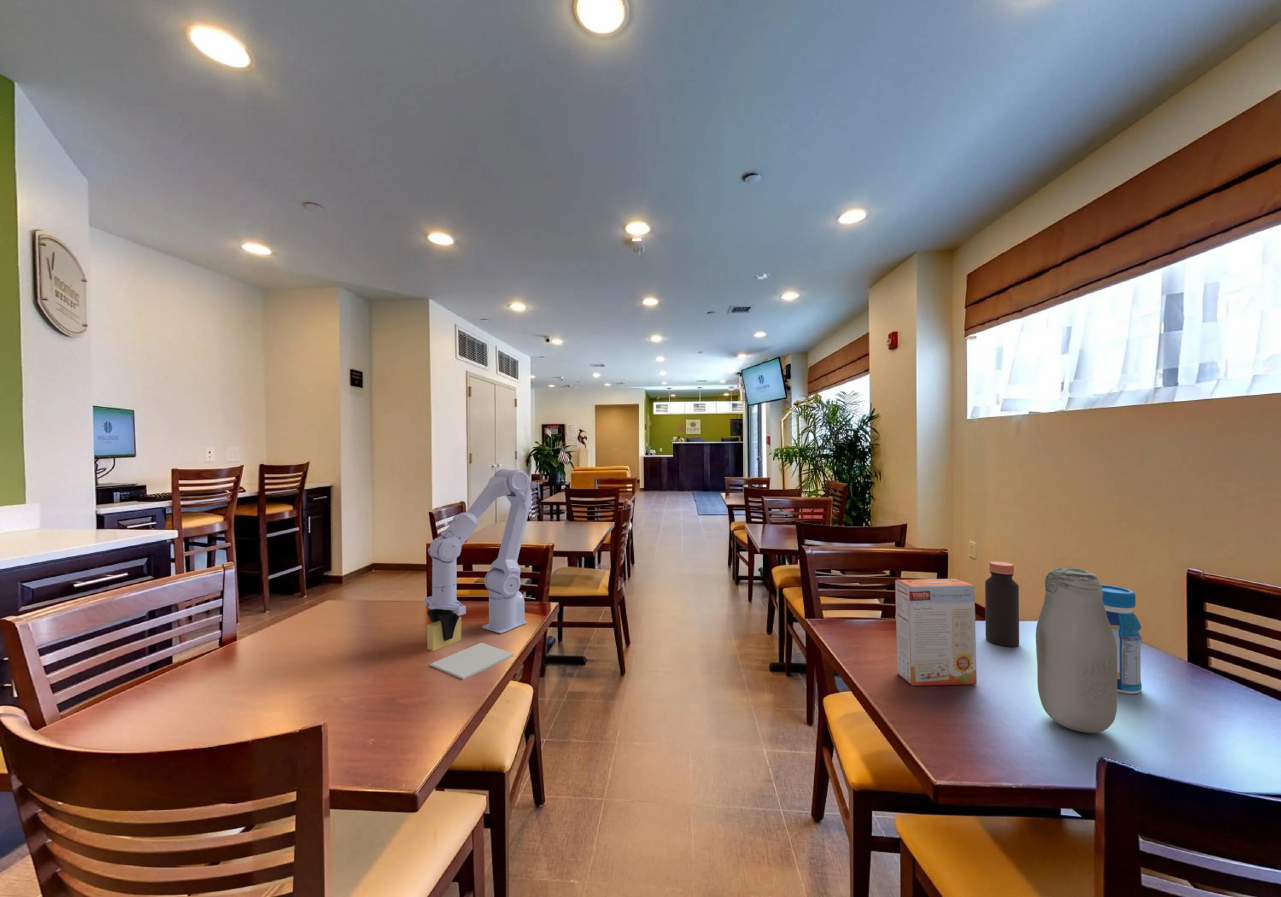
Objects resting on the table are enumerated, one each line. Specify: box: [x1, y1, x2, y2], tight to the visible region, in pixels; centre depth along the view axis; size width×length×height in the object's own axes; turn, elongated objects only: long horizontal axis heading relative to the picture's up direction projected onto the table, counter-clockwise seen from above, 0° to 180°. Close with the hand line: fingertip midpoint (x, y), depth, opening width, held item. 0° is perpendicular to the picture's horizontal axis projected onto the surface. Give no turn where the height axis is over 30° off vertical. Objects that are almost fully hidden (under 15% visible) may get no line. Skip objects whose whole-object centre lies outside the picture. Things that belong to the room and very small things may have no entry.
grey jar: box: [1035, 566, 1118, 734], centre depth 82 cm, size 10×10×28 cm
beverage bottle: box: [1101, 584, 1143, 695], centre depth 97 cm, size 8×8×20 cm
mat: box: [430, 642, 515, 681], centre depth 109 cm, size 14×12×1 cm
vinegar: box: [984, 561, 1020, 648], centre depth 119 cm, size 7×7×20 cm
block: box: [426, 616, 462, 652], centre depth 118 cm, size 8×2×6 cm, turn 147°
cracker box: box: [894, 578, 978, 687], centre depth 99 cm, size 14×6×21 cm, turn 91°
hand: (444, 638), depth 118 cm, fingers closed on block, 2 cm apart
